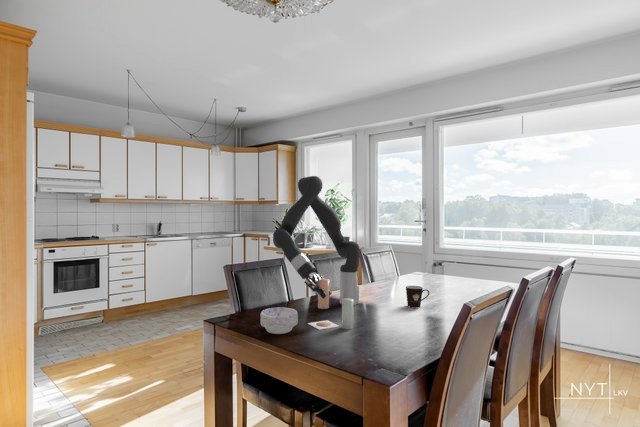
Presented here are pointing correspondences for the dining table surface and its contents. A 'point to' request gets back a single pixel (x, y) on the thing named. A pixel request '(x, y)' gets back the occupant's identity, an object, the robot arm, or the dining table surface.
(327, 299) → the terracotta tube
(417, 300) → the coffee mug
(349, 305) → the grey-green tube
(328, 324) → the card
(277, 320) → the paper bowls
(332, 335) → the dining table surface
